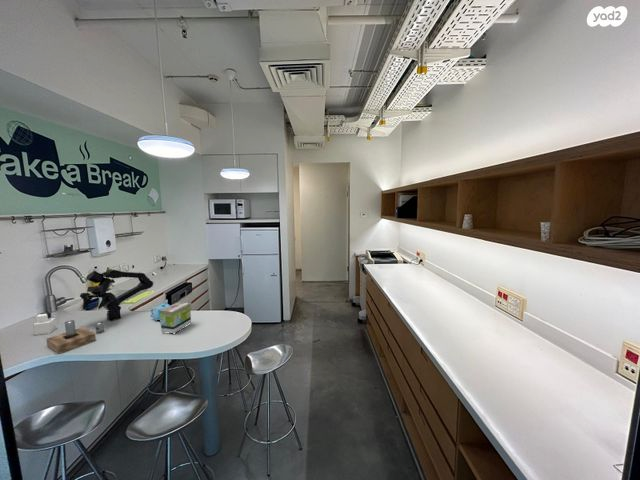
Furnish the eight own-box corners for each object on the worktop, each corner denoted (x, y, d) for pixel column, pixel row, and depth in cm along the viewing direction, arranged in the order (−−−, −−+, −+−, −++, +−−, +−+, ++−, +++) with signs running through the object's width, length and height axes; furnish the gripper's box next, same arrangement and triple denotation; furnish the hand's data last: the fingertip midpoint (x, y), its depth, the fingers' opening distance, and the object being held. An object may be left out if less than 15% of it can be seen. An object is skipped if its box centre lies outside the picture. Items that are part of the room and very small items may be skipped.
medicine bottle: (42, 330, 163) (39, 312, 162) (56, 328, 166) (54, 310, 164) (34, 335, 157) (31, 316, 155) (50, 333, 159) (47, 314, 157)
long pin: (78, 340, 150) (75, 319, 149) (75, 344, 147) (72, 322, 145) (69, 342, 149) (66, 321, 147) (66, 345, 145) (63, 323, 143)
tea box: (175, 335, 158) (173, 311, 156) (160, 333, 160) (159, 310, 158) (191, 324, 172) (190, 302, 170) (178, 322, 174) (177, 301, 172)
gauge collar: (83, 333, 158) (82, 327, 158) (95, 340, 151) (95, 333, 150) (47, 346, 145) (46, 338, 144) (58, 354, 137) (57, 346, 136)
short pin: (102, 330, 164) (101, 321, 163) (105, 331, 162) (104, 322, 161) (94, 332, 160) (93, 323, 159) (97, 334, 158) (96, 325, 157)
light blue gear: (147, 319, 179) (146, 305, 178) (169, 311, 192) (168, 298, 190) (159, 324, 172) (157, 309, 170) (181, 316, 184) (180, 302, 183)
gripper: (80, 280, 165) (66, 303, 156) (110, 280, 166) (98, 303, 157) (91, 288, 174) (79, 310, 165) (120, 288, 175) (109, 310, 166)
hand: (91, 308), depth 163 cm, fingers open, 9 cm apart
